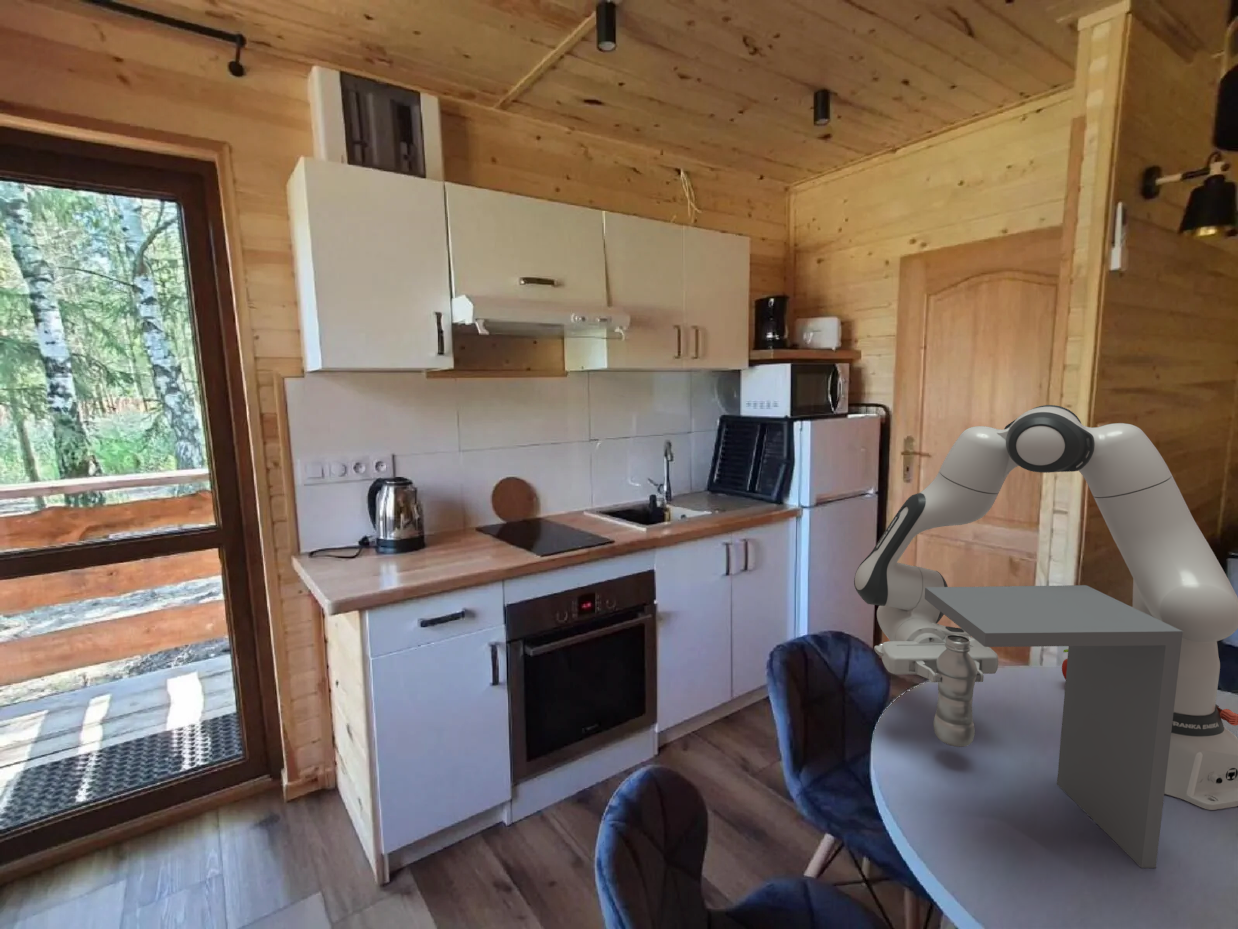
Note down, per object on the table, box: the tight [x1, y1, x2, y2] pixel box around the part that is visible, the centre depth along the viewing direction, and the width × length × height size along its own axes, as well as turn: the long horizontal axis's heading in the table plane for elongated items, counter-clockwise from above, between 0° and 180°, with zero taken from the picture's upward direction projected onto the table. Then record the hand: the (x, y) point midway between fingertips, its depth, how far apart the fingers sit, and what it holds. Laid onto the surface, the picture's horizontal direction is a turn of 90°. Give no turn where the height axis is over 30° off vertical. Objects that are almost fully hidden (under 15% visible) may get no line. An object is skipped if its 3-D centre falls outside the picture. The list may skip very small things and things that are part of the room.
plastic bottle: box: [932, 634, 977, 748], centre depth 109 cm, size 6×7×20 cm
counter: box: [925, 584, 1183, 869], centre depth 94 cm, size 26×18×36 cm
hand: (958, 678), depth 108 cm, fingers closed on plastic bottle, 6 cm apart
